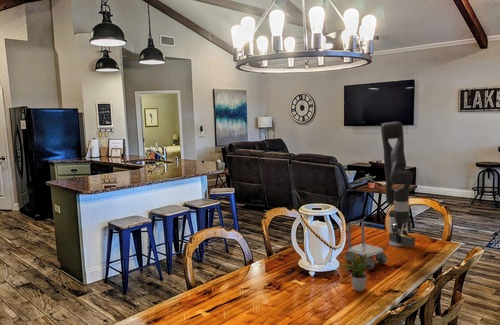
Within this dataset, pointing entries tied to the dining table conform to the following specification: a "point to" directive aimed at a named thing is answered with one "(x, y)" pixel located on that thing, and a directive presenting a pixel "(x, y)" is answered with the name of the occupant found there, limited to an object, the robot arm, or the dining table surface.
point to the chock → (403, 239)
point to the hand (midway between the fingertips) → (401, 241)
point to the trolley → (364, 249)
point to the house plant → (358, 272)
